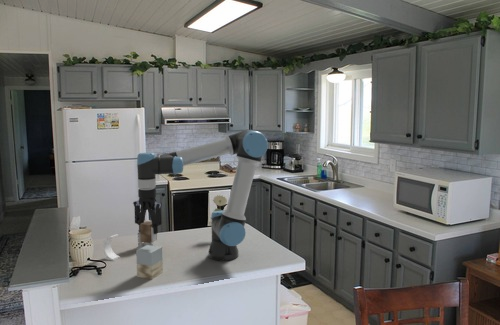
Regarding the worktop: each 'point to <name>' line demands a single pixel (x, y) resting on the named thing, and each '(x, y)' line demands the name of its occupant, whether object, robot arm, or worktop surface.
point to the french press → (144, 242)
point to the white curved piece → (109, 249)
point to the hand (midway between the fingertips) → (148, 240)
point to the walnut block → (146, 232)
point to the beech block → (150, 270)
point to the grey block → (149, 255)
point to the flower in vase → (219, 201)
